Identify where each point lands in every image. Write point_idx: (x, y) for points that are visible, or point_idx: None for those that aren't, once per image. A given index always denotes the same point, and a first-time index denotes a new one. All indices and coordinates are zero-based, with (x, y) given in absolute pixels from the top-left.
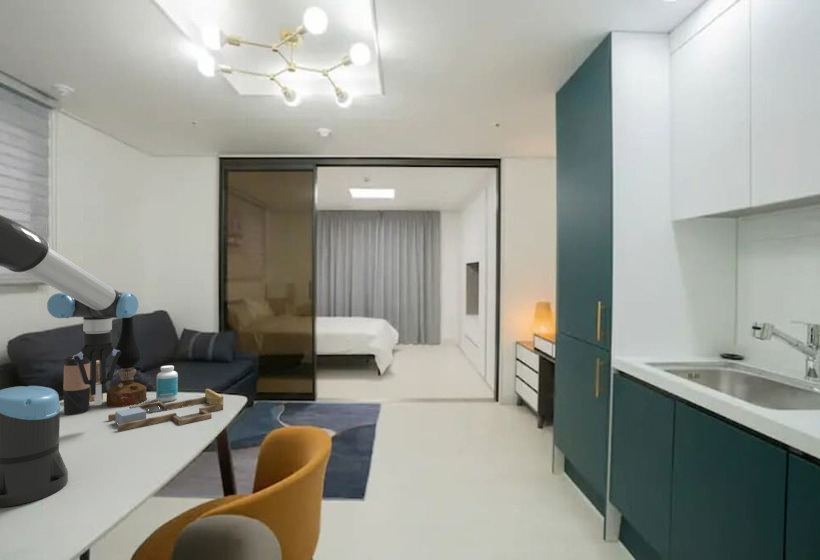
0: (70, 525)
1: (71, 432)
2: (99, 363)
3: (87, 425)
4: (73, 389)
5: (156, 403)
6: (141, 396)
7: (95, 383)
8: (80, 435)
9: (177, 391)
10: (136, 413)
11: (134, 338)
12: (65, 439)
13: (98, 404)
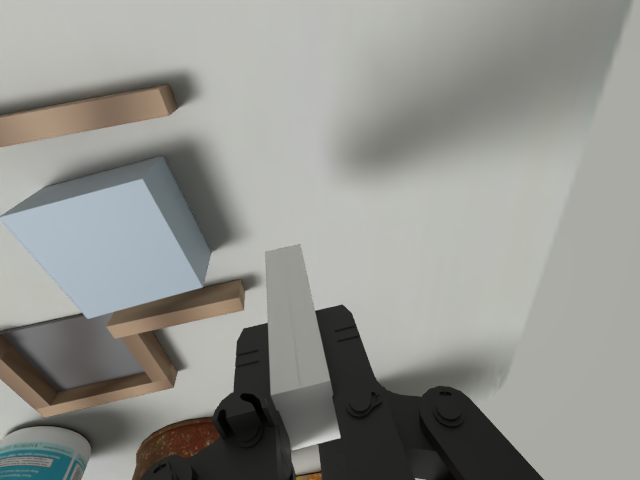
0: None
1: (377, 202)
2: None
3: (319, 265)
4: None
5: (60, 400)
6: (143, 464)
7: (339, 405)
8: (348, 134)
9: None
10: (59, 200)
11: None
12: (407, 107)
13: (284, 248)
